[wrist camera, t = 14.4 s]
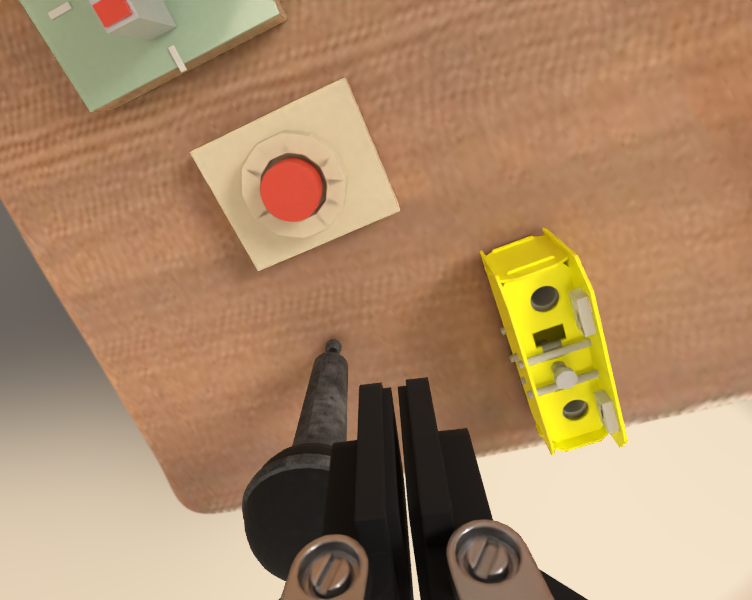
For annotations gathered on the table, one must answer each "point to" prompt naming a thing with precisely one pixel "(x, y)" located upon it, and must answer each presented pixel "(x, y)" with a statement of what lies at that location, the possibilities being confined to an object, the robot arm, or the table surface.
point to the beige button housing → (312, 144)
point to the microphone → (299, 471)
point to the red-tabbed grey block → (134, 17)
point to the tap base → (144, 44)
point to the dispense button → (291, 189)
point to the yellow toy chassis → (556, 341)
